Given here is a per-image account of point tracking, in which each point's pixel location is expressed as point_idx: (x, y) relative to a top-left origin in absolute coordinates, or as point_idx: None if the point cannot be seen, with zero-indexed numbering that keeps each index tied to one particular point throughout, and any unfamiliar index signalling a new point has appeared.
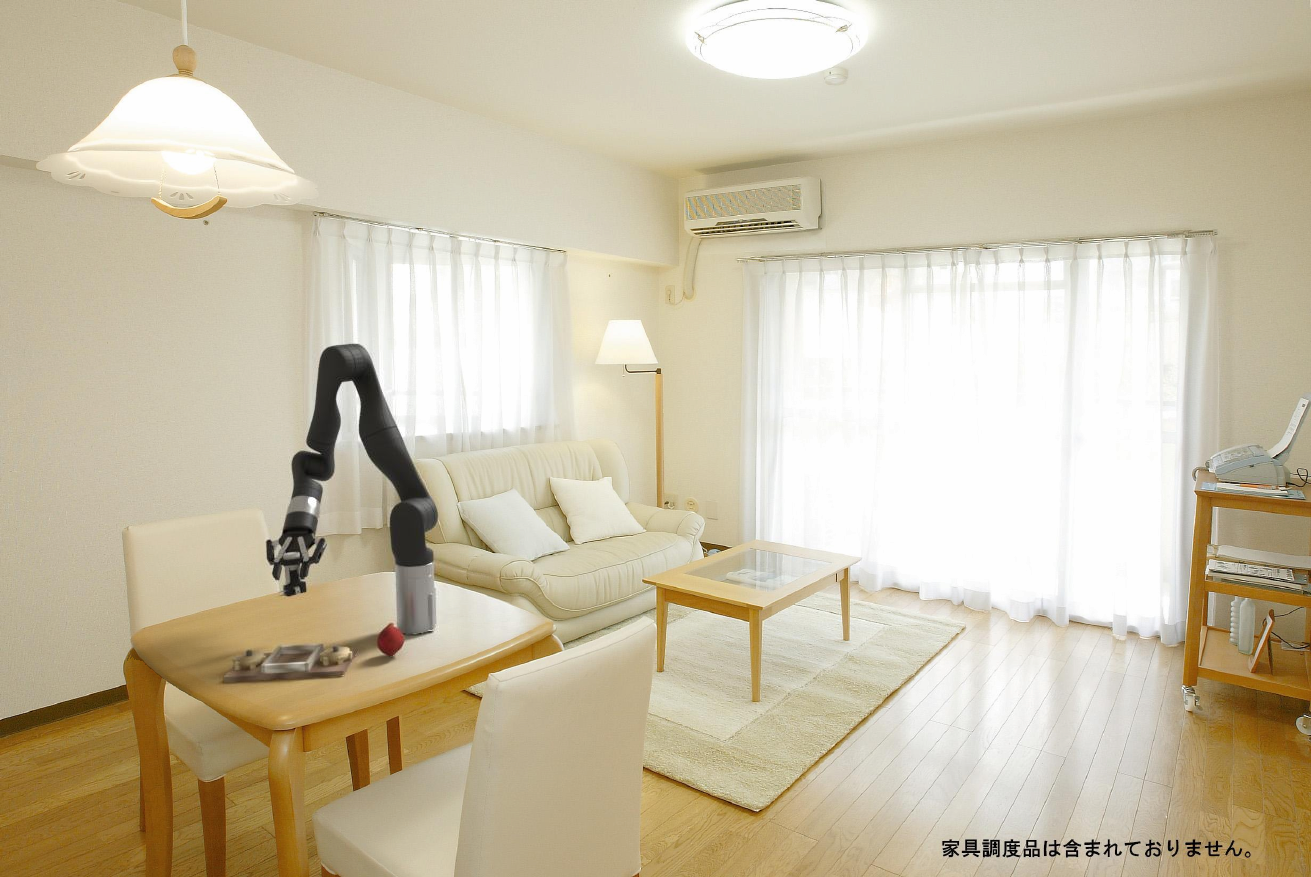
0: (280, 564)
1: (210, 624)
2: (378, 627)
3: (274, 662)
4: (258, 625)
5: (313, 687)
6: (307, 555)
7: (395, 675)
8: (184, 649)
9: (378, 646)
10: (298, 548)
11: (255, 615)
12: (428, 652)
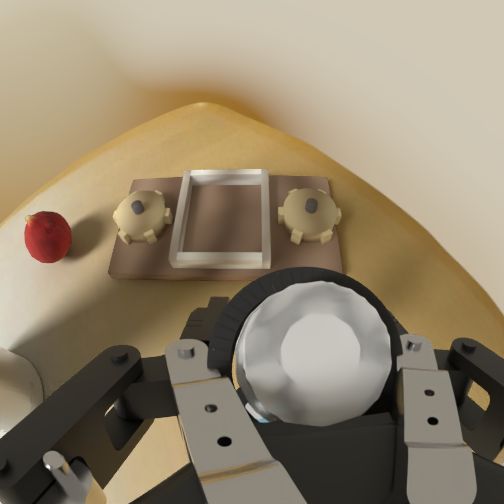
0: None
1: None
2: None
3: (261, 221)
4: None
5: (177, 157)
6: (173, 372)
7: (71, 186)
8: (478, 341)
9: (69, 226)
10: (275, 441)
11: None
12: (16, 262)
